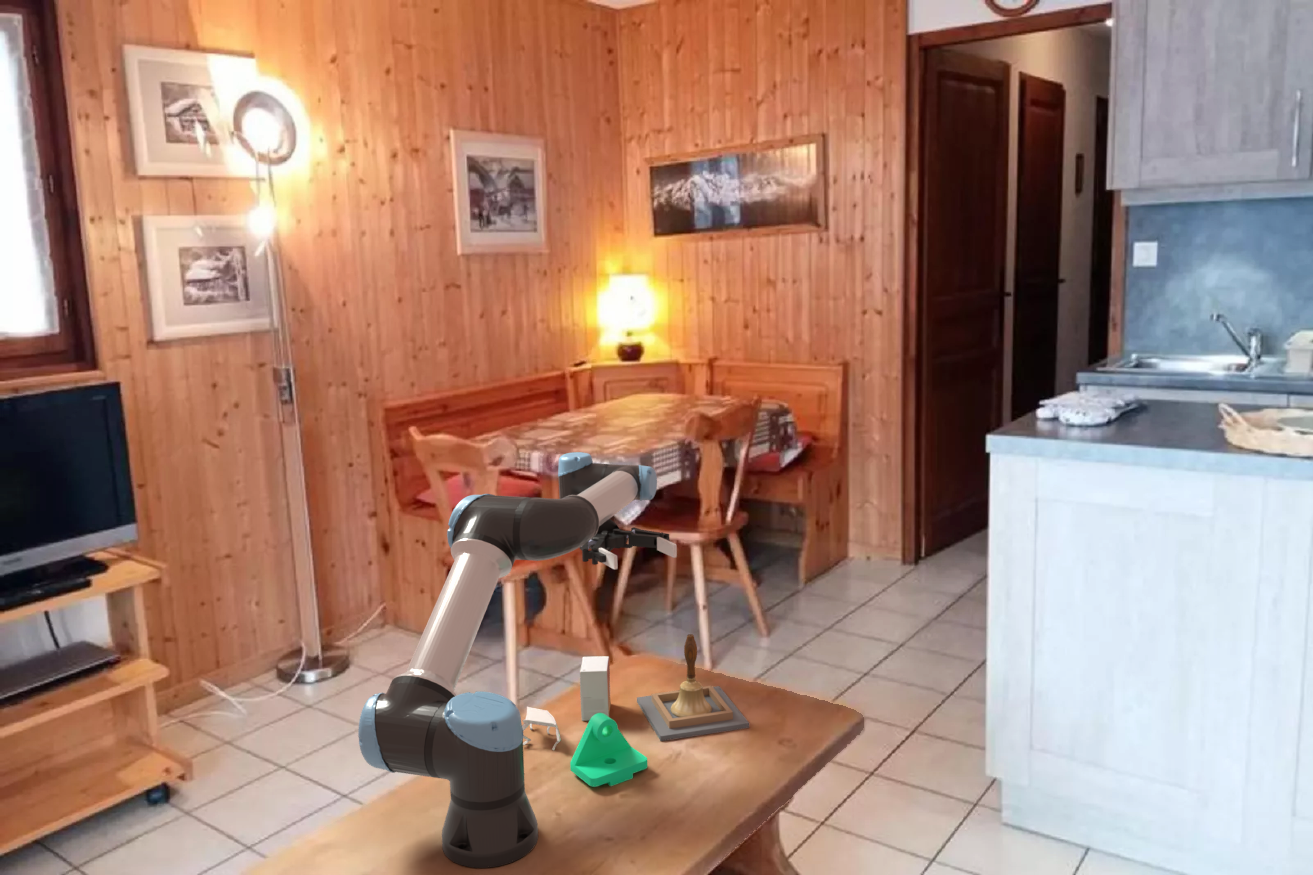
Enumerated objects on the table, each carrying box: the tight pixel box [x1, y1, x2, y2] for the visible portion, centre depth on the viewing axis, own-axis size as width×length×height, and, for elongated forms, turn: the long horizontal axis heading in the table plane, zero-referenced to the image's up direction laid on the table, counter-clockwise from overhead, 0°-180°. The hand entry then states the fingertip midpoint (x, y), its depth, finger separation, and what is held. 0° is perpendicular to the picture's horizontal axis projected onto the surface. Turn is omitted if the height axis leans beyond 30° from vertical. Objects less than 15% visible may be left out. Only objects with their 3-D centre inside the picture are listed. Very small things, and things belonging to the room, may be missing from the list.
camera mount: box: [569, 713, 649, 788], centre depth 185 cm, size 12×8×10 cm, turn 125°
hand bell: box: [671, 633, 712, 717], centre depth 206 cm, size 8×8×16 cm
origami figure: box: [522, 706, 562, 751], centre depth 198 cm, size 12×8×5 cm
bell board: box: [636, 685, 750, 742], centre depth 208 cm, size 18×18×2 cm
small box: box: [579, 655, 611, 722], centre depth 209 cm, size 8×6×10 cm
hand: (646, 556), depth 206 cm, fingers open, 13 cm apart
